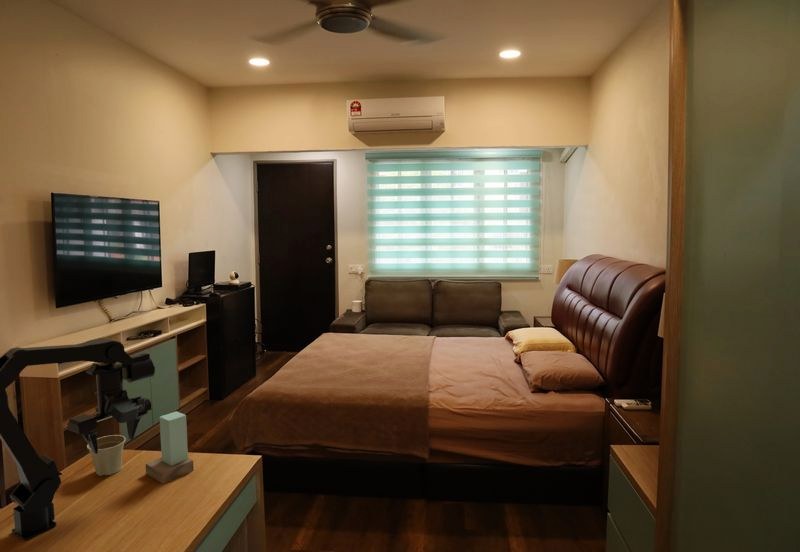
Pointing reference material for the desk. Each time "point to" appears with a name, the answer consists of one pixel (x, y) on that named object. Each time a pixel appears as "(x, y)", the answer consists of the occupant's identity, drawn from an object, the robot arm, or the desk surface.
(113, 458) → the flower pot
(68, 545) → the desk surface
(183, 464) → the base slab
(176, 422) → the pillar
